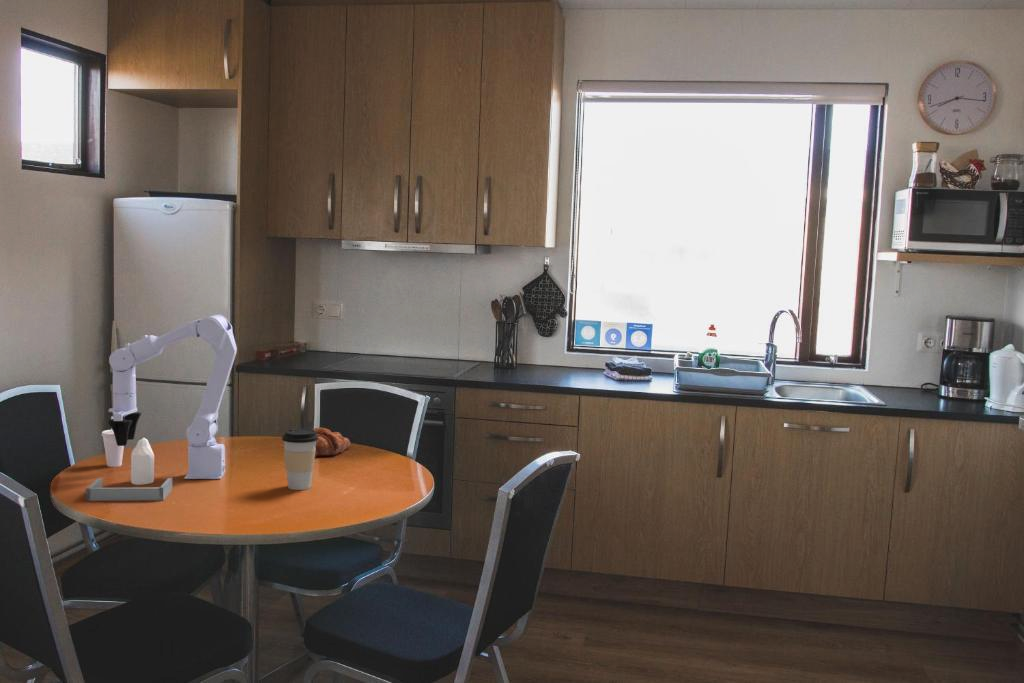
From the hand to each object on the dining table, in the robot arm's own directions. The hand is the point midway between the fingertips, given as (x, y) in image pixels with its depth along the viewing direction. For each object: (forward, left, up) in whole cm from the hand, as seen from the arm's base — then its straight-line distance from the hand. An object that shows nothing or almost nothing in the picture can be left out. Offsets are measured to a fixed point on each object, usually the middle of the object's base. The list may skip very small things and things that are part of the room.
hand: (125, 442), depth 245 cm
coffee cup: (-47, +13, -9) cm, 50 cm away
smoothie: (+6, -11, -9) cm, 15 cm away
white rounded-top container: (-6, +7, -9) cm, 13 cm away
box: (-6, +19, -9) cm, 22 cm away
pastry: (-51, -27, -10) cm, 59 cm away
